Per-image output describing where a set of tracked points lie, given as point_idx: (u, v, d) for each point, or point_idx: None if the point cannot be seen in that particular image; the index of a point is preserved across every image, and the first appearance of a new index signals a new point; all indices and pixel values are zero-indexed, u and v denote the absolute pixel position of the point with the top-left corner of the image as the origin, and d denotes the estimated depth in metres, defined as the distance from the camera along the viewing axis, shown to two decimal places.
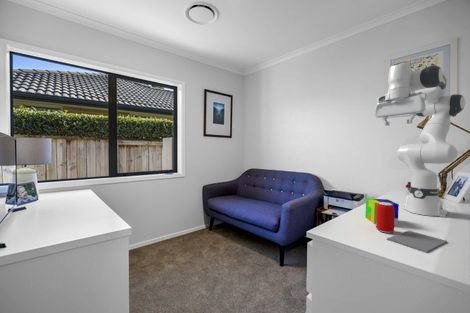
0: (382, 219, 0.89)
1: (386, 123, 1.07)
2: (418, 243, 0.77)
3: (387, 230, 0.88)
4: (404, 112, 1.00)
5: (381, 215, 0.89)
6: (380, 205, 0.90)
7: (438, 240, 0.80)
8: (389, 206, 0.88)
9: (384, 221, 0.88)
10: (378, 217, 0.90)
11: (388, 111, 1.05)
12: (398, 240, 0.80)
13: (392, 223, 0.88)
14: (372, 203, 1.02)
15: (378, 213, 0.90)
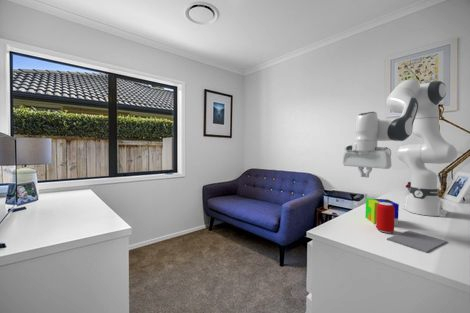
0: (382, 219, 0.89)
1: (362, 175, 0.98)
2: (418, 243, 0.77)
3: (387, 230, 0.88)
4: (370, 166, 0.94)
5: (381, 215, 0.89)
6: (380, 205, 0.90)
7: (438, 240, 0.80)
8: (389, 206, 0.88)
9: (384, 221, 0.88)
10: (378, 217, 0.90)
11: (355, 162, 1.00)
12: (398, 240, 0.80)
13: (392, 223, 0.88)
14: (372, 203, 1.02)
15: (378, 213, 0.90)
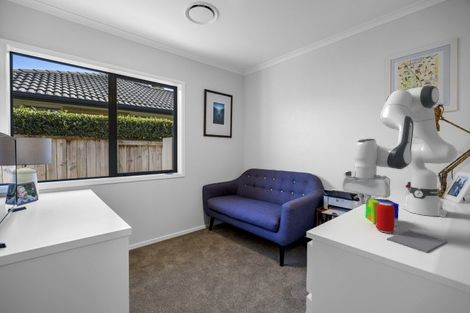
0: (382, 219, 0.89)
1: (361, 201, 0.98)
2: (418, 243, 0.77)
3: (387, 230, 0.88)
4: (369, 194, 0.94)
5: (381, 215, 0.89)
6: (380, 205, 0.90)
7: (438, 240, 0.80)
8: (389, 206, 0.88)
9: (384, 221, 0.88)
10: (378, 217, 0.90)
11: (354, 188, 1.00)
12: (398, 240, 0.80)
13: (392, 223, 0.88)
14: (372, 203, 1.02)
15: (378, 213, 0.90)
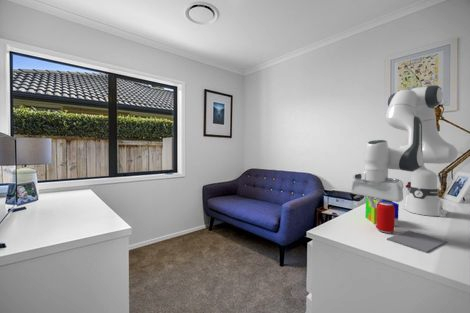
0: (382, 219, 0.89)
1: (372, 205, 0.94)
2: (418, 243, 0.77)
3: (387, 230, 0.88)
4: (381, 197, 0.90)
5: (382, 215, 0.89)
6: (380, 205, 0.90)
7: (438, 240, 0.80)
8: (389, 206, 0.88)
9: (384, 221, 0.88)
10: (378, 217, 0.90)
11: (364, 192, 0.96)
12: (398, 240, 0.80)
13: (392, 223, 0.88)
14: None
15: (378, 213, 0.90)
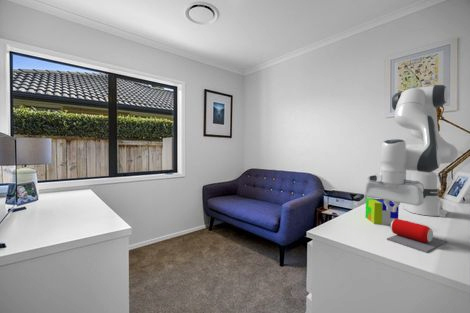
0: (406, 232, 0.81)
1: (388, 209, 0.88)
2: (418, 243, 0.77)
3: (394, 232, 0.85)
4: (398, 201, 0.85)
5: (411, 234, 0.80)
6: (425, 234, 0.76)
7: (438, 240, 0.80)
8: (426, 241, 0.77)
9: (404, 234, 0.82)
10: (407, 228, 0.81)
11: (380, 194, 0.90)
12: (398, 240, 0.80)
13: None
14: (372, 203, 1.02)
15: (412, 230, 0.79)
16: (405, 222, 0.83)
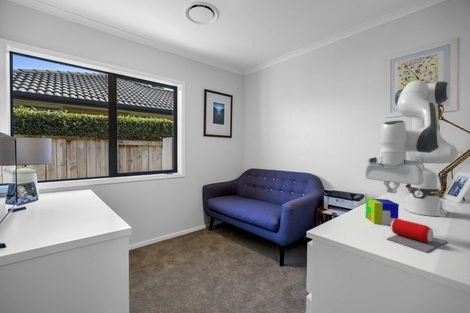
0: (406, 232, 0.81)
1: (388, 190, 0.89)
2: (418, 243, 0.77)
3: (394, 232, 0.85)
4: (398, 181, 0.85)
5: (411, 233, 0.80)
6: (425, 234, 0.77)
7: (438, 240, 0.80)
8: (426, 241, 0.77)
9: (404, 233, 0.82)
10: (407, 228, 0.81)
11: (380, 176, 0.91)
12: (398, 240, 0.80)
13: None
14: (372, 203, 1.02)
15: (413, 229, 0.80)
16: (405, 222, 0.83)
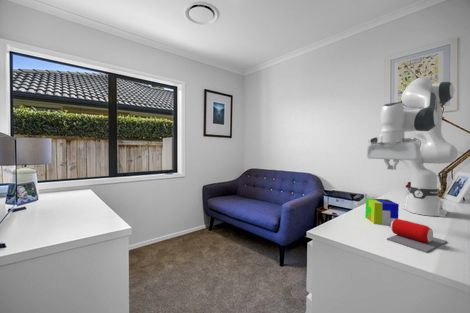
0: (406, 232, 0.81)
1: (389, 167, 0.96)
2: (418, 243, 0.77)
3: (394, 232, 0.85)
4: (398, 158, 0.92)
5: (411, 233, 0.80)
6: (425, 234, 0.76)
7: (438, 240, 0.80)
8: (426, 241, 0.77)
9: (404, 233, 0.82)
10: (407, 228, 0.81)
11: (381, 155, 0.98)
12: (398, 240, 0.80)
13: None
14: (372, 203, 1.02)
15: (412, 229, 0.79)
16: (405, 222, 0.83)
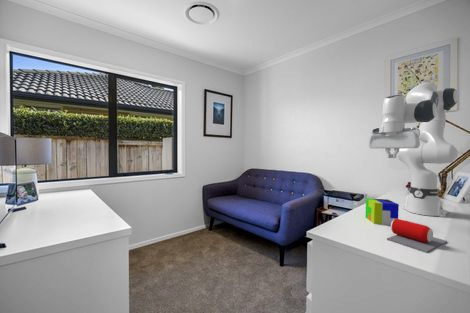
0: (406, 232, 0.81)
1: (389, 156, 1.01)
2: (418, 243, 0.77)
3: (394, 232, 0.85)
4: (398, 147, 0.98)
5: (411, 233, 0.80)
6: (425, 234, 0.76)
7: (438, 240, 0.80)
8: (426, 241, 0.77)
9: (404, 234, 0.82)
10: (407, 228, 0.81)
11: (382, 144, 1.03)
12: (398, 240, 0.80)
13: None
14: (372, 203, 1.02)
15: (412, 230, 0.79)
16: (405, 222, 0.83)
